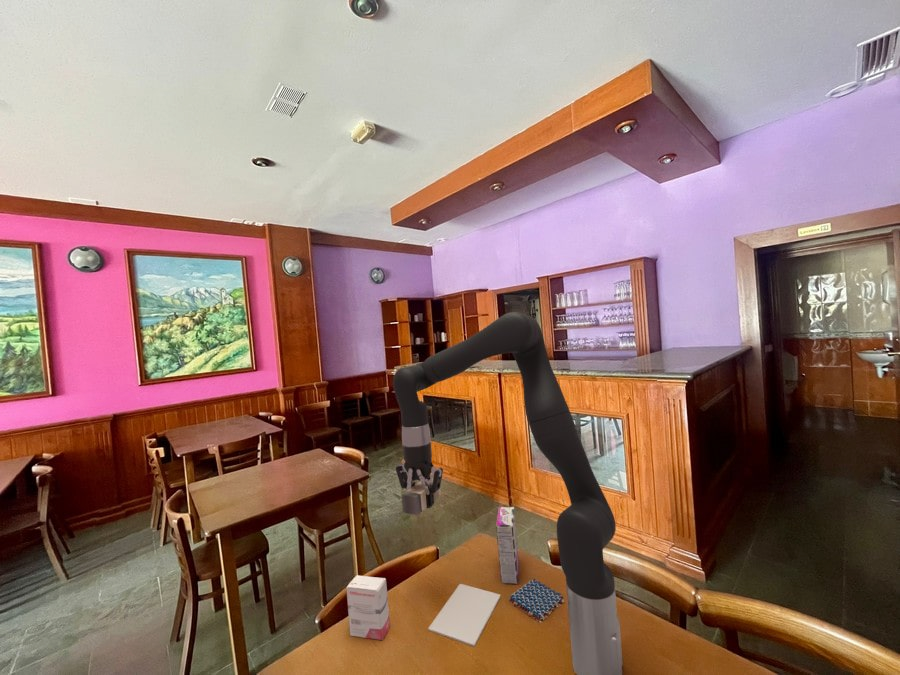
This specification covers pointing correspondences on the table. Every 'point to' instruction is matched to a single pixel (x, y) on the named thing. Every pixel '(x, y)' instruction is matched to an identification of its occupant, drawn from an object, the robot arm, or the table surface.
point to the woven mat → (536, 600)
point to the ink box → (368, 607)
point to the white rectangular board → (465, 614)
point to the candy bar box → (507, 545)
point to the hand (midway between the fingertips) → (421, 505)
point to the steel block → (416, 499)
